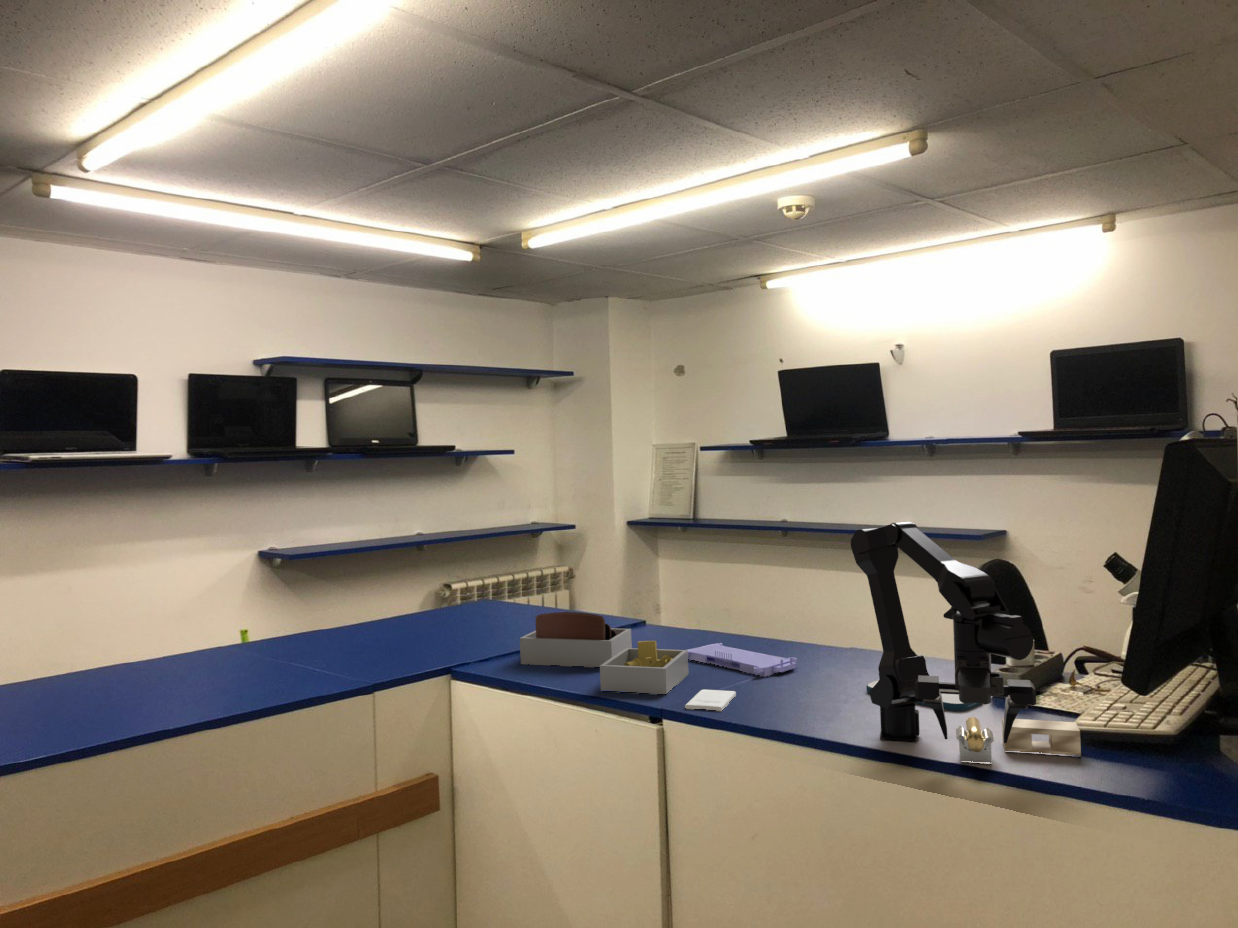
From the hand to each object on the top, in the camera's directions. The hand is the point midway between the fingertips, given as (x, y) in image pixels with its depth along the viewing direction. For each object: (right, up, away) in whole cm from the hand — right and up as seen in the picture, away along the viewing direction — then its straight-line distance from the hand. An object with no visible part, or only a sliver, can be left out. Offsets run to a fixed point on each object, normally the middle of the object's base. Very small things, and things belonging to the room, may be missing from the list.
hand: (975, 740), depth 150 cm
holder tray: (-71, -6, +91) cm, 116 cm away
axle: (+2, 0, +4) cm, 4 cm away
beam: (+14, -4, +7) cm, 16 cm away
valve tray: (-53, -6, +64) cm, 84 cm away
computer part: (-29, -5, +78) cm, 84 cm away
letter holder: (-71, -7, +89) cm, 114 cm away
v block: (+2, -4, +4) cm, 6 cm away
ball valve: (-51, -6, +64) cm, 83 cm away
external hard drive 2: (+6, -5, +43) cm, 43 cm away
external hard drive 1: (-40, -6, +45) cm, 61 cm away
